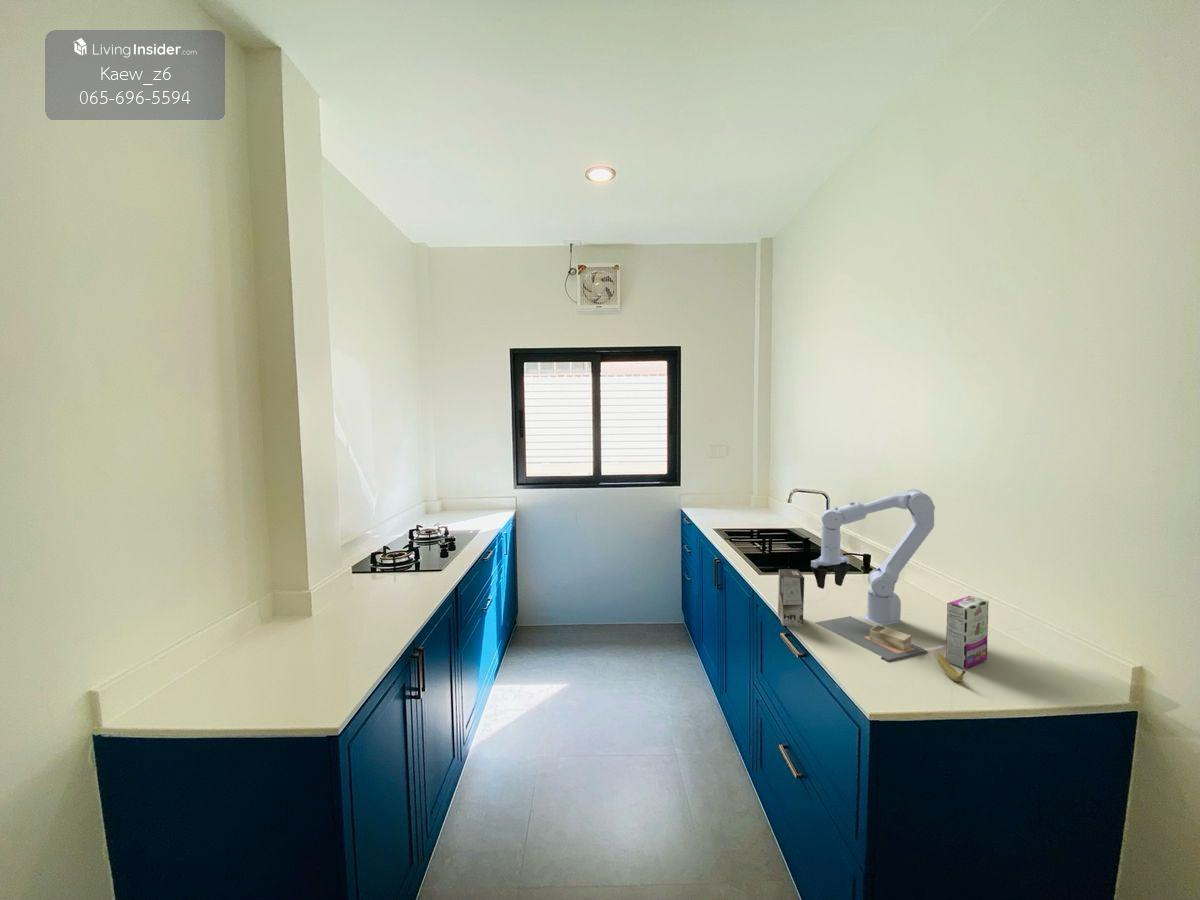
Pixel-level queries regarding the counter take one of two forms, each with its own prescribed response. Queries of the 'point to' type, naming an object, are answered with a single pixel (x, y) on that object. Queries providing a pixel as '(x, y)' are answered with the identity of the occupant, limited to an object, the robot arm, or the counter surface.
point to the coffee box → (791, 597)
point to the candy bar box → (967, 631)
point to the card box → (890, 637)
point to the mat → (867, 638)
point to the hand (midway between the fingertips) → (829, 586)
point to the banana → (949, 668)
